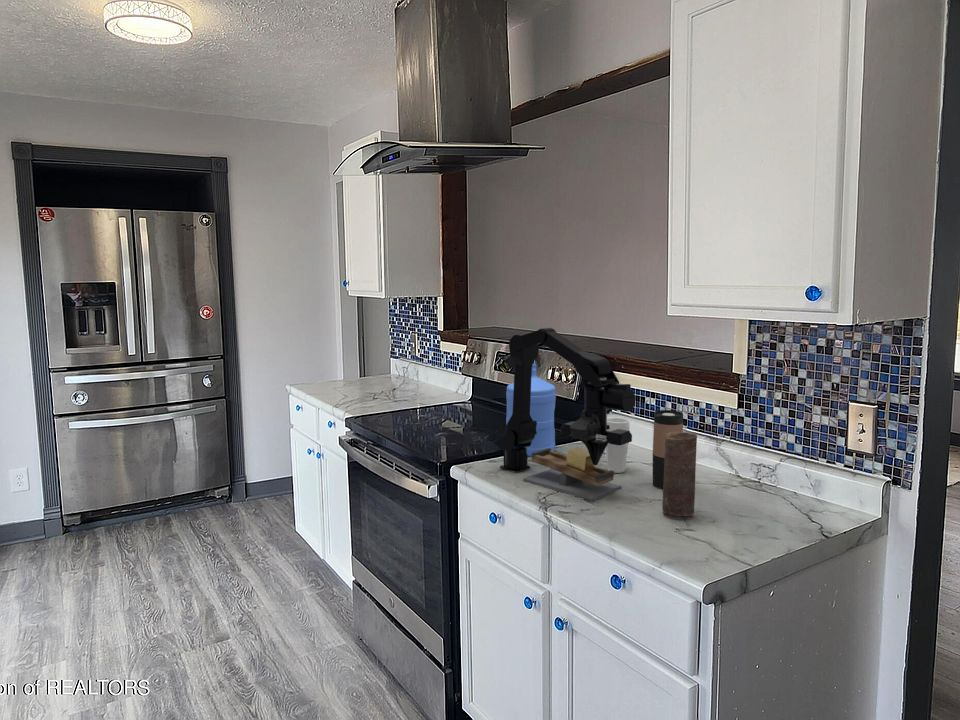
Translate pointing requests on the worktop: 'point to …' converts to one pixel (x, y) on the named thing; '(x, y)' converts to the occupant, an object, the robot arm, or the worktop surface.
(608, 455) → the drinking glass
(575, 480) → the stand
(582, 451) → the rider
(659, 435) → the travel mug
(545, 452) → the beam
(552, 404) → the water jug
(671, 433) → the candle
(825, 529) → the worktop surface
